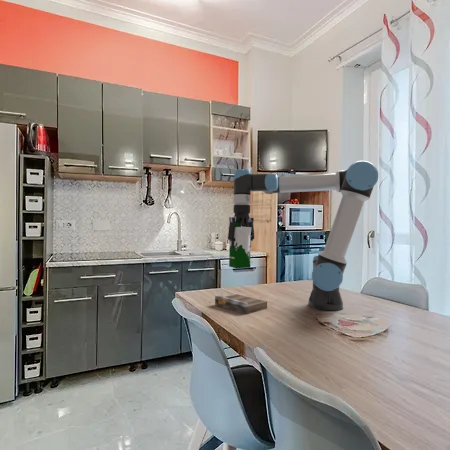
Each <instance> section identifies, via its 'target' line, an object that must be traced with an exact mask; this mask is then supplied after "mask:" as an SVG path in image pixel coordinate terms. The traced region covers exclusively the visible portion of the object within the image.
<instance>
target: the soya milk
mask: <svg viewBox="0 0 450 450" xmlns="http://www.w3.org/2000/svg"><path fill="white" fill-rule="evenodd" d="M239 223H240V222H235V232H234V238H235V240H236V241H234V249H232V248H231V241H230V240H229V247H228V249H229V252H228V253H229V255H228V256H229V257H228V258H229V259H228V260H229V261H228V267H229V268H234V269H249V268H251V248H250V235H251V228H252V227H242V226H241V227H239ZM227 229H229V226H228V228H227Z"/></svg>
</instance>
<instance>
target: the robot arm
mask: <svg viewBox="0 0 450 450" xmlns="http://www.w3.org/2000/svg"><path fill="white" fill-rule="evenodd" d="M378 179H379V171H378V169H377V167H376V165H374V164H373V163H372V162H370V161H367V160H358V161H356V162H354V163H352V164H350V166H349V167H348V168H347V169H343V170H337V171H336V172H335V173H334V172H333V173H322V174H321V173H320V174H319V173H318V174H301V175H288V176H287V175H286V176H278V174H277V173H270V172H269V173H252V171H251V170H250V169H248V168H247V169H245V168H241V169H236V170H235V171H234V176H233V213H234V216H233V217H231V216H230V217H229V218H228V221H229V225H228V227H229V228H228V233H227V240H228V241H229V242H230V241H231V248H232V249H234V241H236V240H235V238H234V232H235V222H240V223H239V227H252V228H251V235H250V249H251V247H252V242H253V241H254V239H255V229H254V221H255V219H254V217H250V215H249V214H251V205H250V204H251V194H252V193H251V192H263V193H264V194H267V195H273V194H280V193H283V194H286V193H300V192H302V193H304V192H305V193H306V192H325V191H327V192H328V191H336V192H337V193H341V196H342V197H341V199H340V203H339V205H338V208H337V210H336V214H335V217H334V220H333V223H332V226H331V229H330V231H329V235H328V237H327V239H326V243H325V246H324V249H323V251H321V252H319V253H318V255H314V256H313V257H312V259H313V260H312V271H311V280H312V289H311V292H310V295H309V297H308V306H309V307H311V308H313V309H317V310H321V311H338V310H343V308H344V302H343V299H342V295H341V292H340V286H341V285H342V283H343V280H344V279H343V278H344V273H345V269H346V267H347V264H348V262H347V260H346V258H345V257H346V255H347V252H348V249H349V246H350V244H351V241H352V238H353V235H354V232H355V229H356V227H357V222H358V220H359V217H360V214H361V212H362V209H363V206H364V204H365V202H366V201H368V200H370V198H371V196H372V193H373V190H374V187H375V185H376V184H377V183H378V181H379V180H378Z"/></svg>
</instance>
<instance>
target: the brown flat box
mask: <svg viewBox="0 0 450 450" xmlns="http://www.w3.org/2000/svg"><path fill="white" fill-rule="evenodd" d="M214 306H217V307H220V308H222V309H227V310H230V311H233V312H237V313H240V314H243V315H249V314H252V313H256V312H258V311H264V310H265V309H268V301H267V300H264V299H259V298H254V297H250V296H246V295H241V294H230V295H226V296H221V295H218V294H216V295H215V296H214Z"/></svg>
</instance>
